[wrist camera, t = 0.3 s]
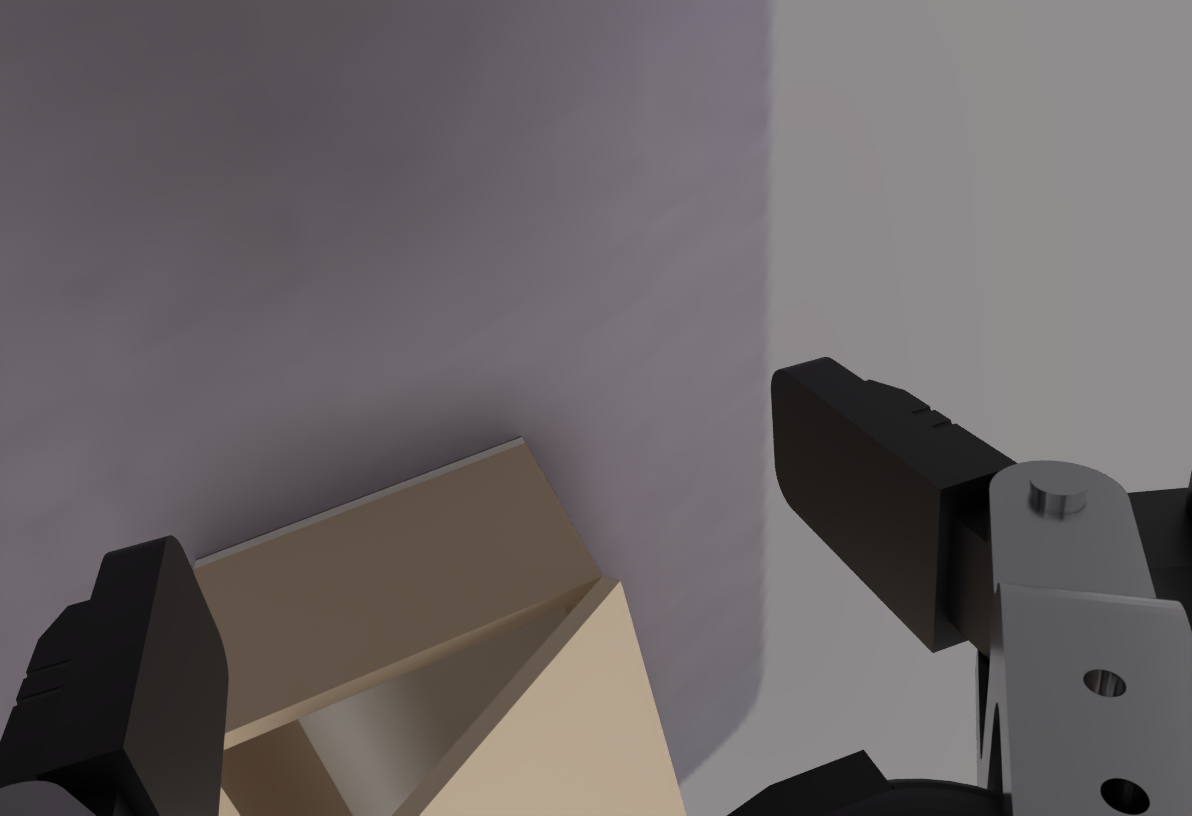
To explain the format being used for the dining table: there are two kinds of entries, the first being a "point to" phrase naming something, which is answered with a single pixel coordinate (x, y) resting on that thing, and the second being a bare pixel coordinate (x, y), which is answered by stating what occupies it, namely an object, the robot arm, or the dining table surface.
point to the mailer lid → (564, 731)
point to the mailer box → (385, 631)
